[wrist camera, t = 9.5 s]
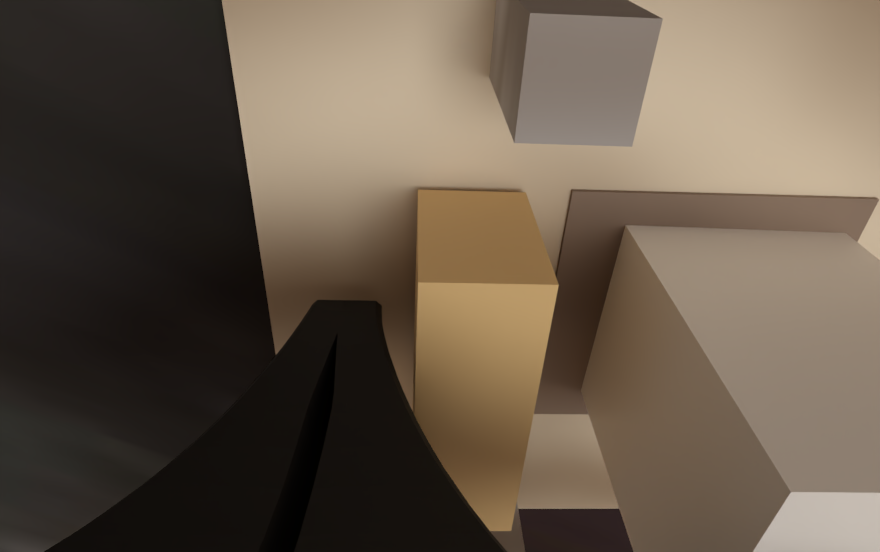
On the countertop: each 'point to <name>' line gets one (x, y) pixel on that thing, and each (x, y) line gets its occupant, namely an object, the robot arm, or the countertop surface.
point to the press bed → (545, 153)
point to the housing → (740, 390)
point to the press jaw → (480, 339)
